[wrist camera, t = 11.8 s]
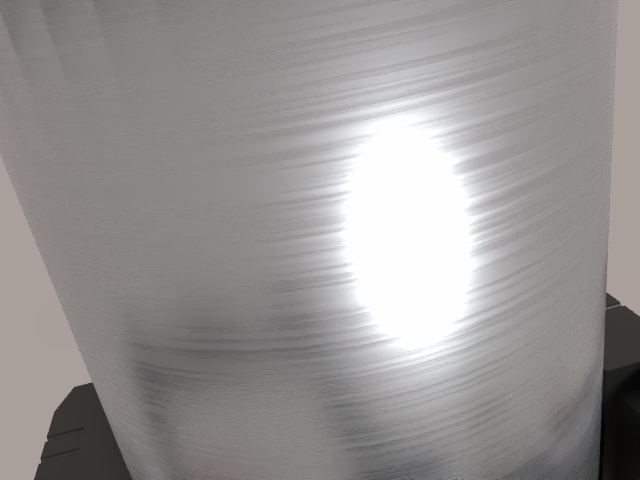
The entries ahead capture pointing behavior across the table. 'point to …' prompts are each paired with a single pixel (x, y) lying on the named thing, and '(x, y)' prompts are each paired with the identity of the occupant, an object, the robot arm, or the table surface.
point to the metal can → (324, 228)
